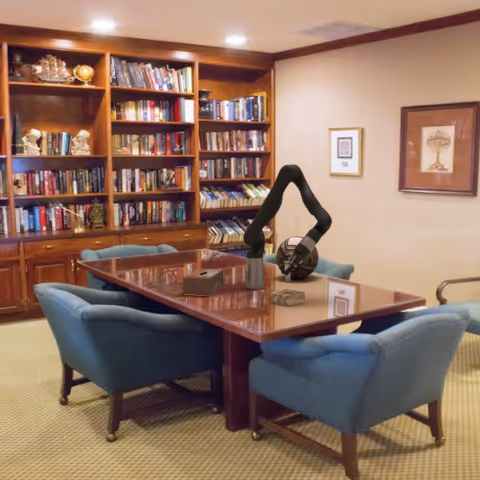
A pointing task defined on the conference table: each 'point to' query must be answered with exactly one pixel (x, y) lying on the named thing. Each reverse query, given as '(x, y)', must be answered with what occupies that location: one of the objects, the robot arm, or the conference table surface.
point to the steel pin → (287, 264)
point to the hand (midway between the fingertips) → (284, 273)
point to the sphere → (309, 262)
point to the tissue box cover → (203, 282)
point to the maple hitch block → (287, 297)
